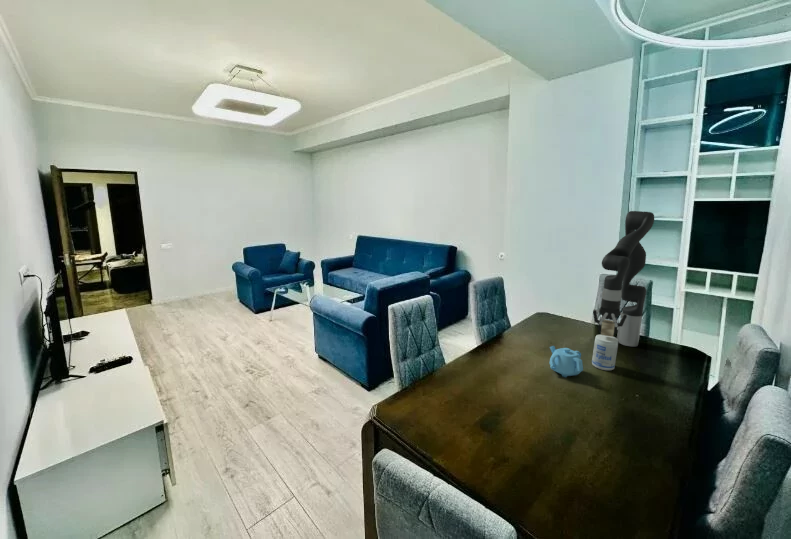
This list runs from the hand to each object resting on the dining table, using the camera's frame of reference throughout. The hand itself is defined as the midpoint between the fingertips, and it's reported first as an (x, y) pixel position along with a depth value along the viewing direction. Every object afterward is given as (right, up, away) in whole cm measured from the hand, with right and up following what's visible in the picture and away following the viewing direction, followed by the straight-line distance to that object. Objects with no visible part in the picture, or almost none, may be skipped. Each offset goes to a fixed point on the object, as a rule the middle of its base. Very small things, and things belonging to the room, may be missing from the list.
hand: (607, 332), depth 163 cm
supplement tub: (0, -17, +4) cm, 18 cm away
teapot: (-21, -18, -1) cm, 28 cm away
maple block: (0, -1, 0) cm, 1 cm away
